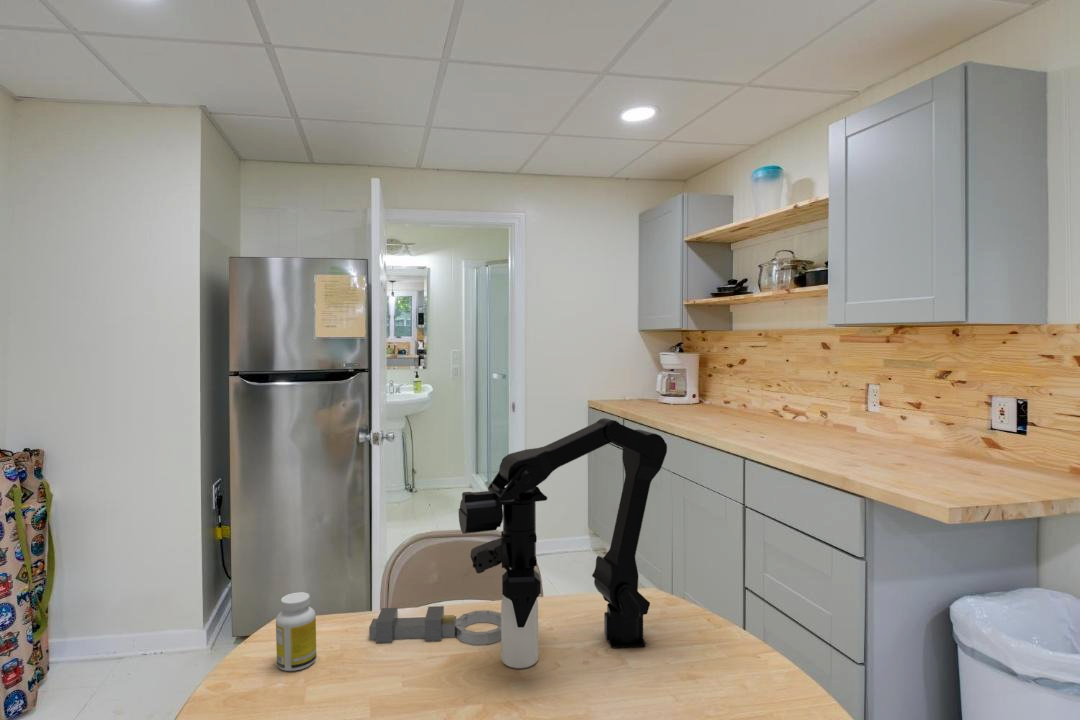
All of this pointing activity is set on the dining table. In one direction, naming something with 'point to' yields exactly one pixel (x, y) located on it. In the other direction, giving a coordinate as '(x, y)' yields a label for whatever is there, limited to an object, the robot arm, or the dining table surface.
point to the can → (518, 637)
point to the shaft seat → (434, 626)
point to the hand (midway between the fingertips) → (519, 614)
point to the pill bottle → (296, 632)
